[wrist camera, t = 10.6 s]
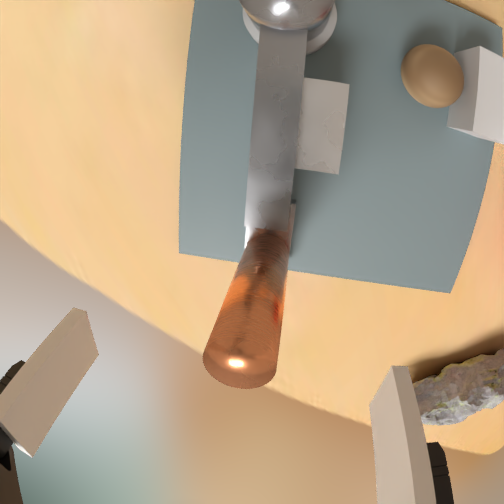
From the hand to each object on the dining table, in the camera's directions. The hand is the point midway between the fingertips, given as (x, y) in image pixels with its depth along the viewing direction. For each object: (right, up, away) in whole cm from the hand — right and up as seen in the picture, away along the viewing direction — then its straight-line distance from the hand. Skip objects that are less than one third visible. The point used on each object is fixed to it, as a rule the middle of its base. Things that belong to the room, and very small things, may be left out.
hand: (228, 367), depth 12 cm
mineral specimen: (+25, -9, +17) cm, 32 cm away
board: (+8, +14, +8) cm, 18 cm away
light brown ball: (+13, +17, +5) cm, 22 cm away
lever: (+3, +13, +7) cm, 15 cm away
